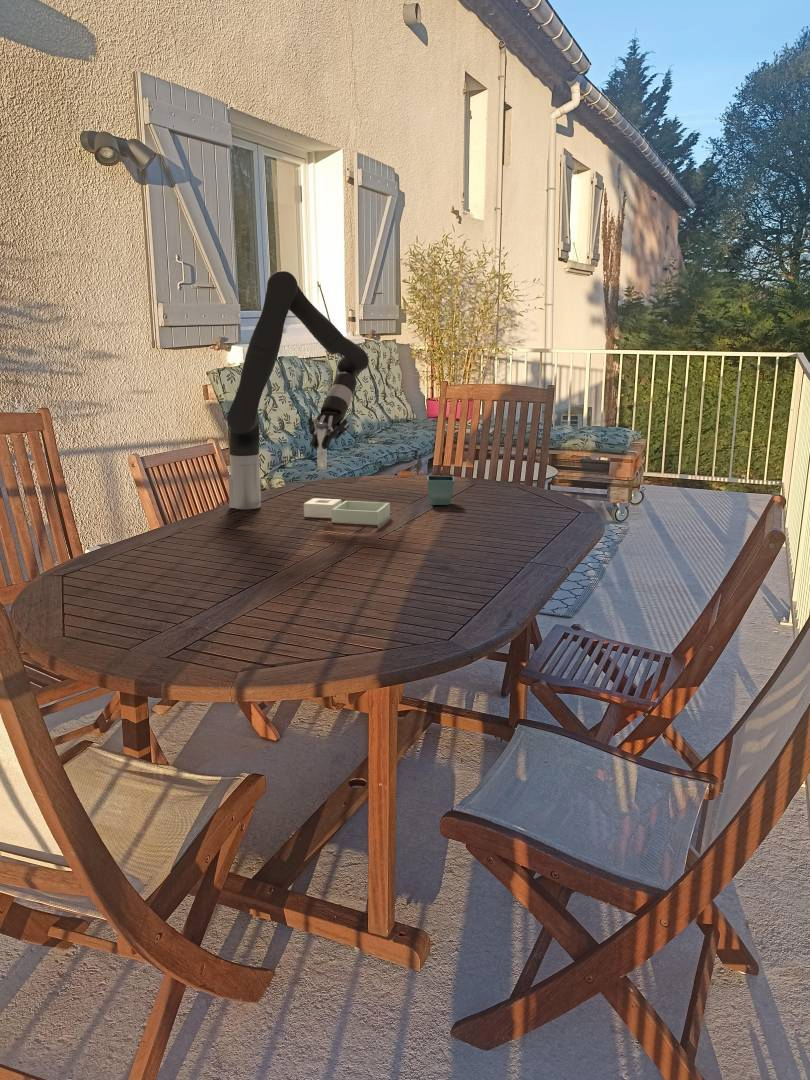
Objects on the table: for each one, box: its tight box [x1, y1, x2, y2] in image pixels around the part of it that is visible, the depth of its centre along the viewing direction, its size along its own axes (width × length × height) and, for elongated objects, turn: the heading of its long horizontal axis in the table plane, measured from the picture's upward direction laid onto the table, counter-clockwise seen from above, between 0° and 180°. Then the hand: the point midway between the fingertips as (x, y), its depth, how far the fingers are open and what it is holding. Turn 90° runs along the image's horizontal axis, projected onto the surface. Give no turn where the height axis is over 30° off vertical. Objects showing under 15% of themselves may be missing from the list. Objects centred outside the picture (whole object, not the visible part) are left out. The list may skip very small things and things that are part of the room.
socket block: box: [303, 497, 342, 519], centre depth 256 cm, size 9×9×5 cm
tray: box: [331, 500, 391, 529], centre depth 251 cm, size 14×14×5 cm
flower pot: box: [426, 475, 456, 506], centre depth 277 cm, size 9×9×9 cm
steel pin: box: [315, 422, 328, 471], centre depth 252 cm, size 3×3×14 cm
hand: (318, 447), depth 250 cm, fingers closed on steel pin, 2 cm apart
